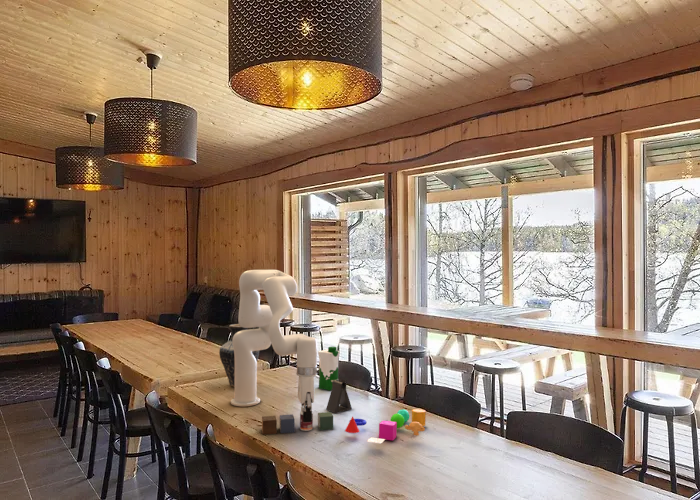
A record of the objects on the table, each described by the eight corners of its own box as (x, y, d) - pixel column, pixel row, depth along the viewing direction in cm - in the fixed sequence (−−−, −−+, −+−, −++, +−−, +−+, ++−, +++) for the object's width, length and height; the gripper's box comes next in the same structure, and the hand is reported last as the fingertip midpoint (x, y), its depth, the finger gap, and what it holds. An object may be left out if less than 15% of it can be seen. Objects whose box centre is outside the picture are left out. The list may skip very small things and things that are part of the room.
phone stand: (334, 413, 206) (334, 384, 206) (326, 409, 211) (326, 381, 211) (351, 409, 212) (352, 381, 212) (343, 406, 217) (343, 378, 217)
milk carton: (330, 391, 239) (330, 349, 239) (315, 388, 244) (315, 347, 244) (341, 387, 246) (341, 346, 246) (326, 384, 251) (327, 344, 251)
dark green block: (317, 425, 192) (317, 412, 192) (330, 424, 193) (330, 411, 193) (320, 430, 187) (320, 416, 187) (333, 429, 188) (333, 416, 188)
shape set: (435, 428, 194) (435, 409, 195) (417, 454, 161) (417, 431, 162) (362, 419, 204) (363, 401, 205) (331, 442, 171) (332, 420, 172)
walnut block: (261, 429, 187) (262, 416, 187) (275, 428, 188) (275, 415, 188) (262, 434, 182) (262, 420, 182) (276, 433, 183) (276, 419, 183)
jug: (255, 391, 239) (255, 327, 239) (214, 390, 239) (214, 327, 239) (263, 379, 259) (263, 321, 259) (225, 379, 260) (226, 321, 260)
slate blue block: (279, 428, 188) (279, 415, 188) (292, 427, 190) (292, 414, 190) (280, 433, 184) (280, 419, 184) (294, 432, 185) (294, 418, 185)
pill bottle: (300, 426, 190) (300, 404, 190) (312, 426, 191) (312, 404, 191) (299, 431, 186) (300, 408, 186) (312, 431, 186) (313, 408, 186)
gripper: (294, 366, 196) (293, 412, 196) (299, 376, 179) (299, 427, 179) (313, 365, 197) (312, 411, 197) (320, 375, 181) (320, 426, 181)
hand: (306, 418), depth 188 cm, fingers closed on pill bottle, 4 cm apart
